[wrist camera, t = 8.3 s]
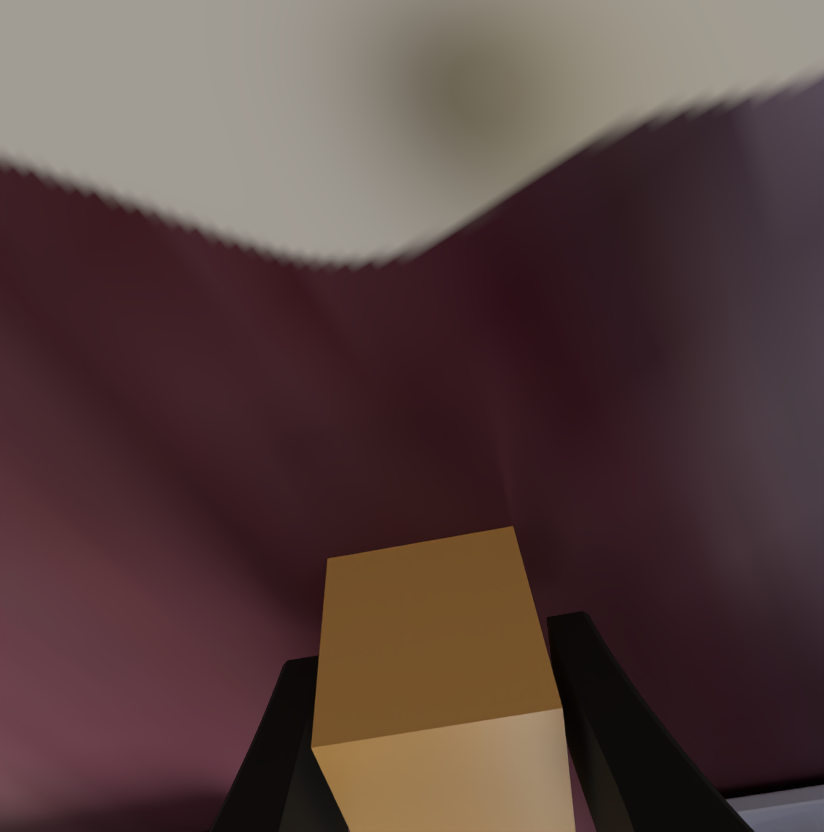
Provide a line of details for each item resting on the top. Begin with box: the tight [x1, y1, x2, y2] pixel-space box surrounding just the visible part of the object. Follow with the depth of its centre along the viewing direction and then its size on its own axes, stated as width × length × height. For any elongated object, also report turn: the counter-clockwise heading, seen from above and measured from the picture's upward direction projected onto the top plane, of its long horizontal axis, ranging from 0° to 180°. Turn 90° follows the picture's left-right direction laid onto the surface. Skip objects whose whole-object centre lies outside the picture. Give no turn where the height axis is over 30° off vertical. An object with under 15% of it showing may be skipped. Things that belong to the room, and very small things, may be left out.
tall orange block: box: [311, 526, 576, 832], centre depth 12 cm, size 8×3×4 cm, turn 10°
